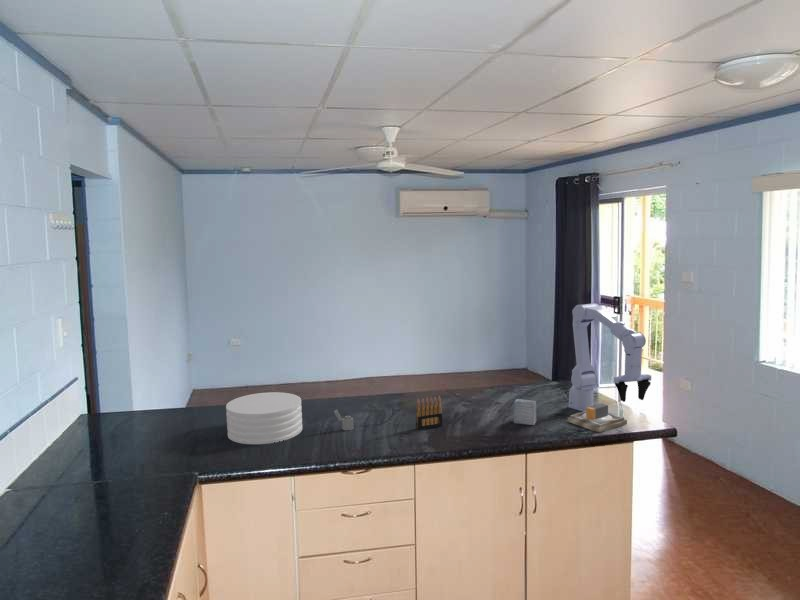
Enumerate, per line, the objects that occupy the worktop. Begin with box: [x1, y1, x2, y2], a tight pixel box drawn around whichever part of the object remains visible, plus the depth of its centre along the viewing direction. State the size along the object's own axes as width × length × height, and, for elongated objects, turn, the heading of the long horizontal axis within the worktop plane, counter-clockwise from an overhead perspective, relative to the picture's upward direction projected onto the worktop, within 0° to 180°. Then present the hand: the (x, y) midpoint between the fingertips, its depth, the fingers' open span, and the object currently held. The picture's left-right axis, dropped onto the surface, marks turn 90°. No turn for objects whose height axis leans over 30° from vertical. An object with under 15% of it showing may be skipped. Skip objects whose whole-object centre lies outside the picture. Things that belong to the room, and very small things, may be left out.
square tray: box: [567, 411, 628, 433], centre depth 225 cm, size 15×16×3 cm
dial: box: [582, 403, 612, 424], centre depth 225 cm, size 11×11×5 cm
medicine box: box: [513, 398, 537, 426], centre depth 227 cm, size 8×4×9 cm, turn 65°
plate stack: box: [225, 391, 303, 445], centre depth 223 cm, size 28×28×12 cm
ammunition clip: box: [415, 395, 444, 431], centre depth 224 cm, size 11×2×12 cm, turn 112°
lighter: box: [333, 409, 354, 431], centre depth 223 cm, size 7×2×8 cm, turn 100°
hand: (631, 400), depth 220 cm, fingers open, 7 cm apart
